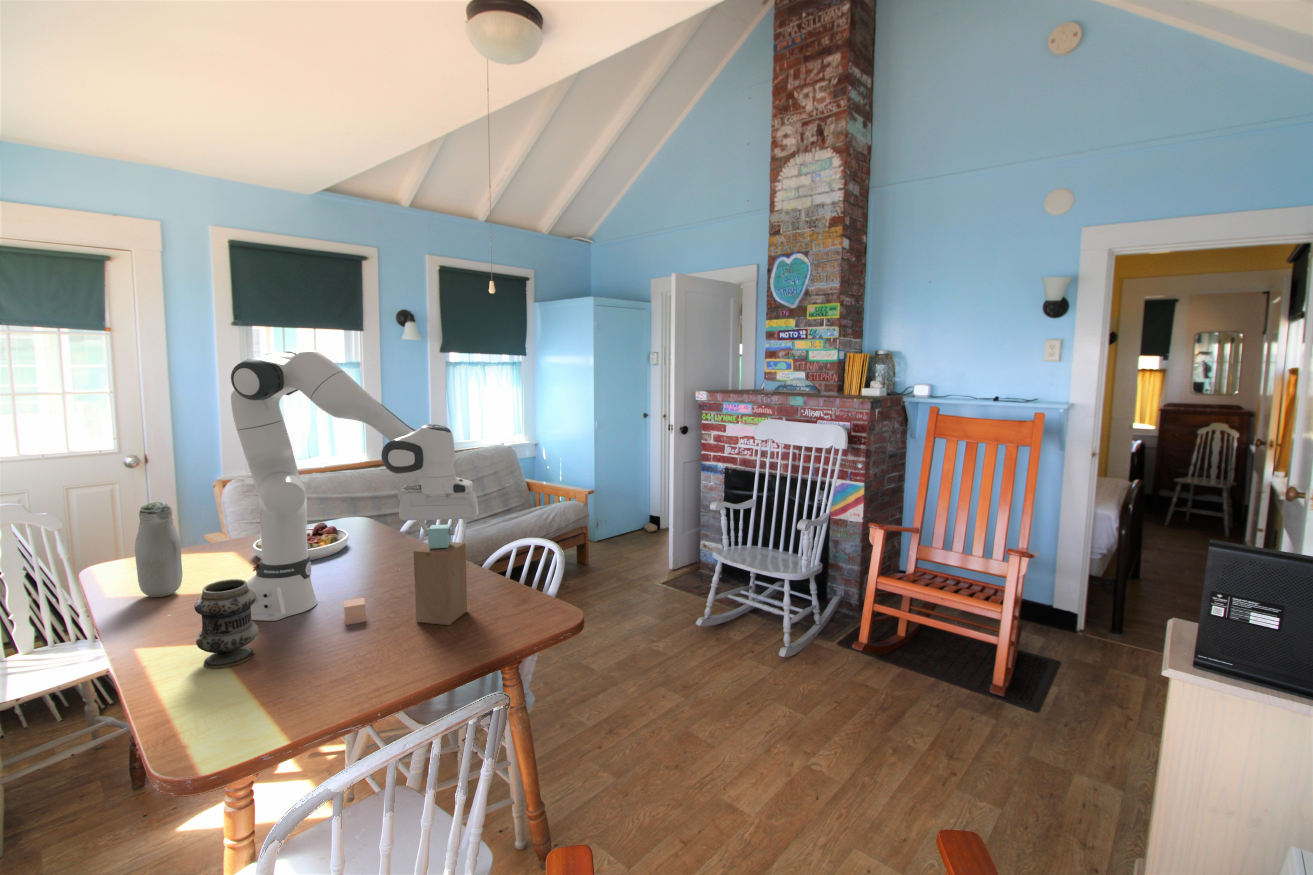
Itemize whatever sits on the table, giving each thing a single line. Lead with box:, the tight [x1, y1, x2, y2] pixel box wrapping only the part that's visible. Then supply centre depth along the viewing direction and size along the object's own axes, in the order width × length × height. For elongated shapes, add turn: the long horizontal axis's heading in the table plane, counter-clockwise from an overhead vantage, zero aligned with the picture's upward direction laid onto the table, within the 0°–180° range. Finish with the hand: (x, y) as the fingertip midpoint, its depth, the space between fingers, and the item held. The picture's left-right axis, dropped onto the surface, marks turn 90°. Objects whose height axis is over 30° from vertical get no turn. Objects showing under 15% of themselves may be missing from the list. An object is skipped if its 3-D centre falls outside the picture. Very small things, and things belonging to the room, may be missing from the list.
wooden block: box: [413, 541, 468, 626], centre depth 168 cm, size 10×10×20 cm
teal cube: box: [427, 524, 452, 548], centre depth 166 cm, size 5×5×5 cm
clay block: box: [343, 597, 367, 626], centre depth 166 cm, size 5×5×5 cm
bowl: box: [252, 522, 349, 561], centre depth 223 cm, size 30×30×8 cm
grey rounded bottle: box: [134, 501, 183, 598], centre depth 180 cm, size 10×10×28 cm
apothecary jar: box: [193, 578, 259, 669], centre depth 143 cm, size 12×12×18 cm
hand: (439, 534), depth 166 cm, fingers closed on teal cube, 5 cm apart
